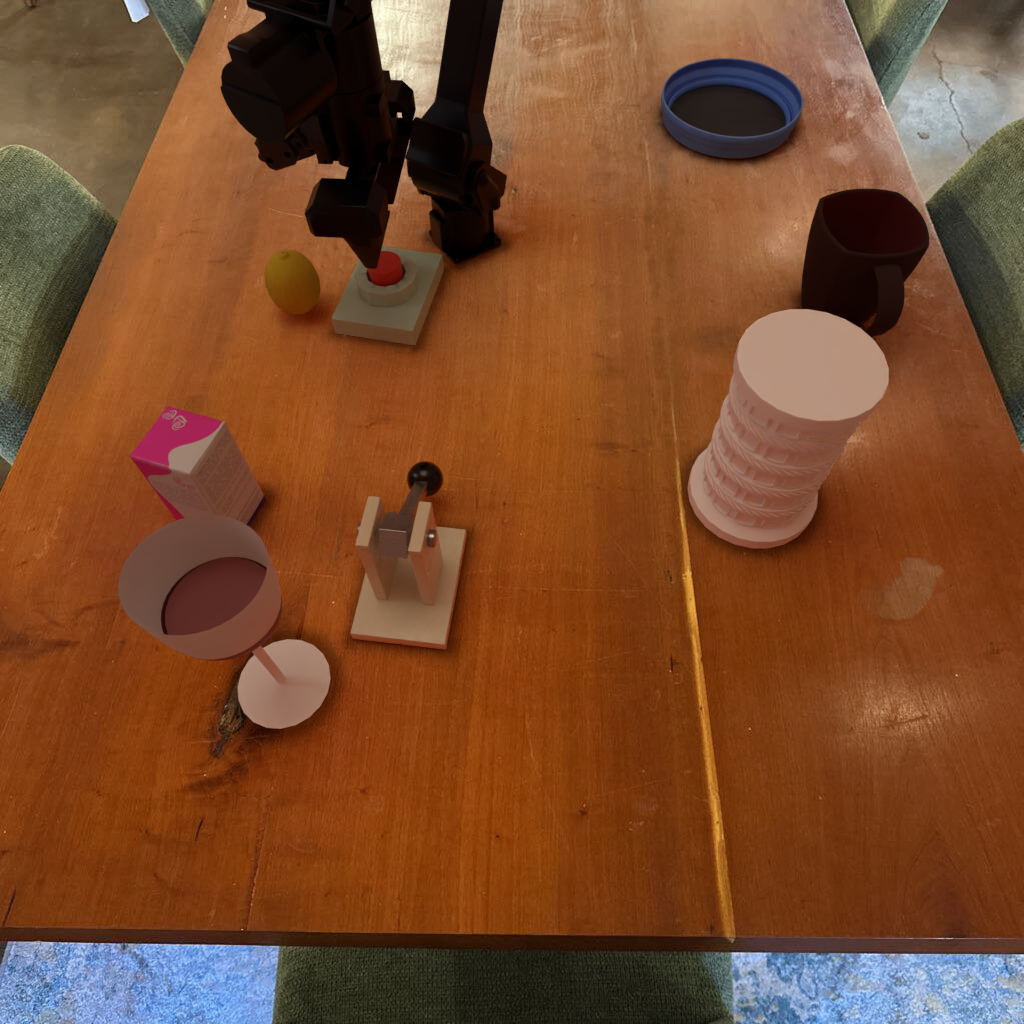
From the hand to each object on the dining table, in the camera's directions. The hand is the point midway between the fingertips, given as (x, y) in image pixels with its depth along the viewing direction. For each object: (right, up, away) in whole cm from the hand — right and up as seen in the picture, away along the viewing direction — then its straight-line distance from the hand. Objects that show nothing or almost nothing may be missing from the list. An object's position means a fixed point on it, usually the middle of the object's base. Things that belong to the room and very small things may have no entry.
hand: (380, 234), depth 74 cm
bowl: (+41, +25, +27) cm, 55 cm away
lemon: (-10, -5, +10) cm, 15 cm away
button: (-1, -2, +8) cm, 8 cm away
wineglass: (-6, -41, -12) cm, 43 cm away
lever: (+4, -28, -10) cm, 30 cm away
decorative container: (+35, -25, -3) cm, 43 cm away
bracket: (+4, -33, -7) cm, 34 cm away
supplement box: (-14, -27, -3) cm, 31 cm away
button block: (-1, -3, +11) cm, 11 cm away
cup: (+48, -7, +8) cm, 49 cm away
